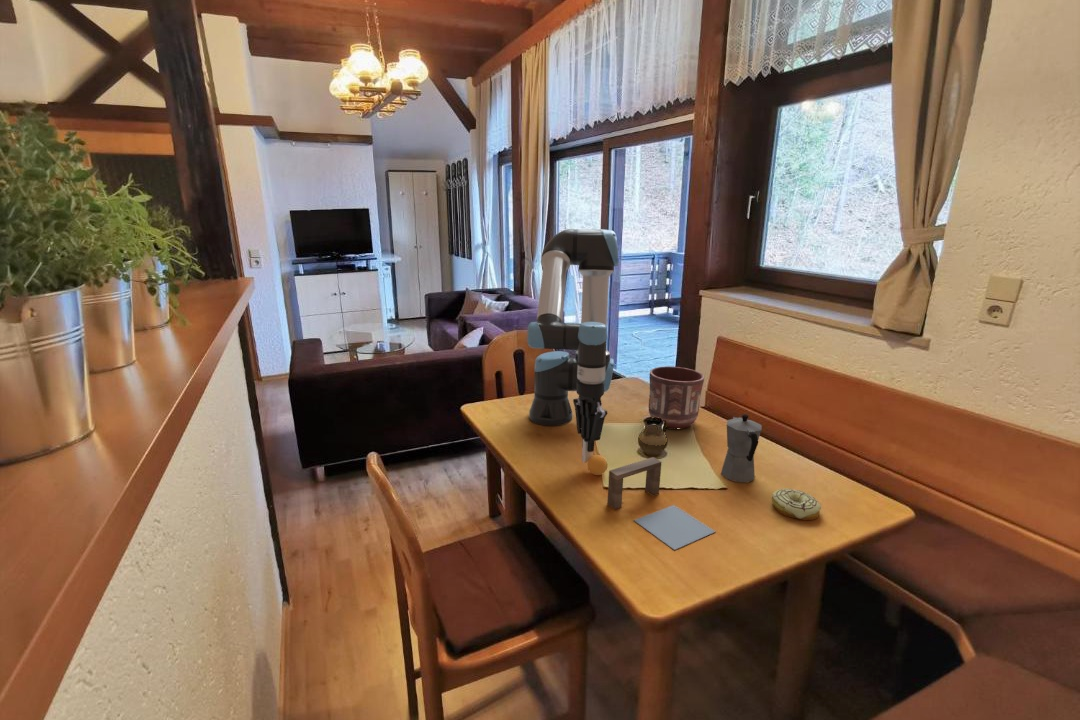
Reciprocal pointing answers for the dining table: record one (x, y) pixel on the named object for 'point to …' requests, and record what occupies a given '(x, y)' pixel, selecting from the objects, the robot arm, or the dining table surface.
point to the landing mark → (674, 527)
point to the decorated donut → (796, 504)
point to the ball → (597, 464)
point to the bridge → (619, 473)
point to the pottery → (675, 395)
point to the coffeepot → (741, 449)
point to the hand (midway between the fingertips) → (587, 460)
